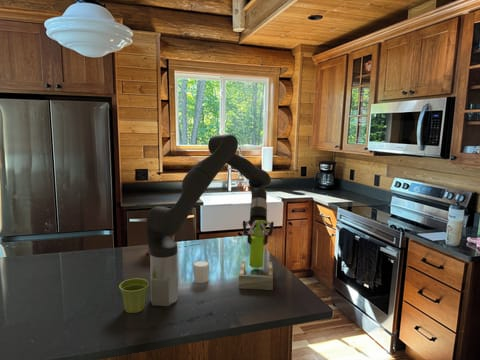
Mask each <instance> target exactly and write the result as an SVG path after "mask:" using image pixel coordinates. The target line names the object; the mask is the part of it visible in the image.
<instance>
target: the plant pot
mask: <svg viewBox="0 0 480 360" xmlns="http://www.w3.org/2000/svg"><path fill="white" fill-rule="evenodd" d="M149 286H150V282H149V281H148V280H147V279H145V278H136V277H135V278H129V279H125V280H124V281H122V282H121V283H119V285H118V287H119V290H120V292H121V293H122V294H121V295H122V300H123V306H124V310H125V312H126V313H128V314H131V313H133V314H138V313H139V312H142V311H144V308H145V304H146V297H147V296H146V295H147V291H148V287H149Z"/></svg>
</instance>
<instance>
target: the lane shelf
mask: <svg viewBox="0 0 480 360" xmlns="http://www.w3.org/2000/svg"><path fill="white" fill-rule="evenodd" d="M267 262H268V264H267V266H268V267H267V273H268V274H267V275H266V274H264V275H263V274H245V272H246V260H241V264H240V270H239V274H238V289H247V290H249V289H251V290H266V291H267V290H268V291H269V290H270V291H271V290H272V291H273V289H274V273H273V272H274V271H273V262H272V261H267Z"/></svg>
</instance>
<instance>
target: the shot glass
mask: <svg viewBox="0 0 480 360" xmlns="http://www.w3.org/2000/svg"><path fill="white" fill-rule="evenodd" d="M210 264H211V263H210V262H209V261H208V260H197V261H193V263H192V270H193V271H192V272H193V280H194V283H198V284H204V283H207V282H208V281H209V277H210V275H209V274H210Z"/></svg>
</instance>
